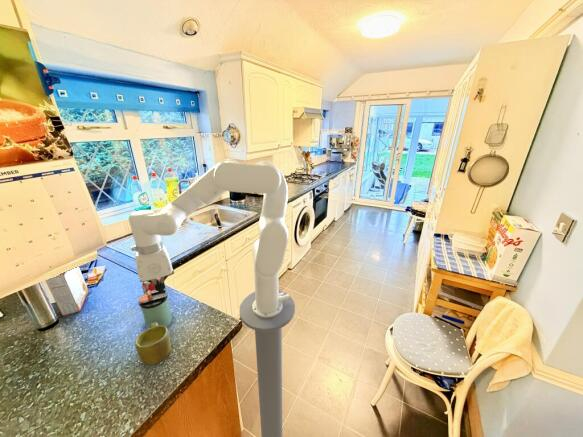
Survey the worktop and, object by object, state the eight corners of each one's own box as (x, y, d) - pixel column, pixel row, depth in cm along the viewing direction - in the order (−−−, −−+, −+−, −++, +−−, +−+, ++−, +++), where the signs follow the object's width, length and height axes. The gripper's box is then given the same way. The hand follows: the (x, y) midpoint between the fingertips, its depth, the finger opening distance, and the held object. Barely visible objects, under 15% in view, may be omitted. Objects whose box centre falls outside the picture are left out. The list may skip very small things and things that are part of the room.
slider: (151, 294, 86) (150, 289, 85) (151, 300, 83) (149, 295, 83) (140, 297, 85) (139, 292, 84) (140, 303, 82) (138, 298, 81)
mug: (172, 361, 73) (157, 335, 71) (140, 376, 72) (123, 350, 69) (183, 335, 85) (170, 312, 82) (155, 347, 84) (141, 325, 81)
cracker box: (72, 295, 103) (55, 254, 96) (89, 291, 106) (74, 250, 98) (60, 317, 92) (40, 271, 84) (80, 312, 94) (62, 267, 87)
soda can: (144, 303, 99) (137, 280, 94) (160, 294, 104) (155, 271, 100) (152, 310, 95) (146, 286, 91) (169, 301, 101) (163, 277, 96)
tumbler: (172, 310, 95) (166, 285, 91) (173, 326, 88) (167, 299, 83) (146, 318, 91) (138, 292, 87) (145, 336, 84) (137, 308, 79)
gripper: (122, 257, 73) (136, 304, 79) (175, 246, 79) (184, 290, 86) (124, 247, 79) (138, 291, 85) (173, 237, 85) (182, 279, 92)
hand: (161, 290), depth 86 cm, fingers closed
